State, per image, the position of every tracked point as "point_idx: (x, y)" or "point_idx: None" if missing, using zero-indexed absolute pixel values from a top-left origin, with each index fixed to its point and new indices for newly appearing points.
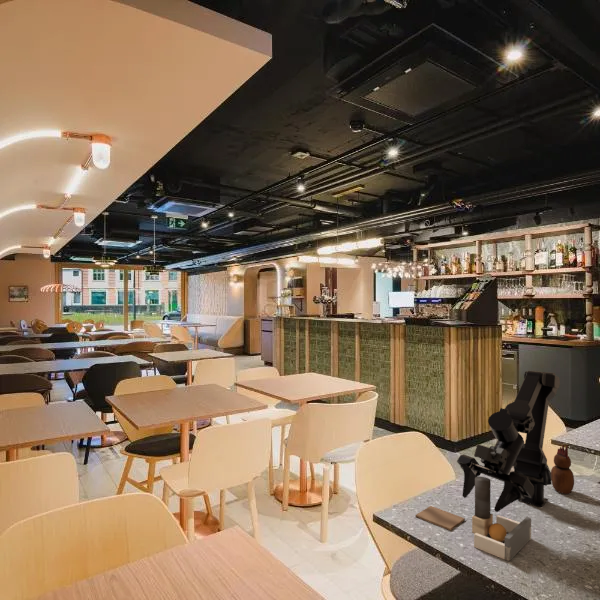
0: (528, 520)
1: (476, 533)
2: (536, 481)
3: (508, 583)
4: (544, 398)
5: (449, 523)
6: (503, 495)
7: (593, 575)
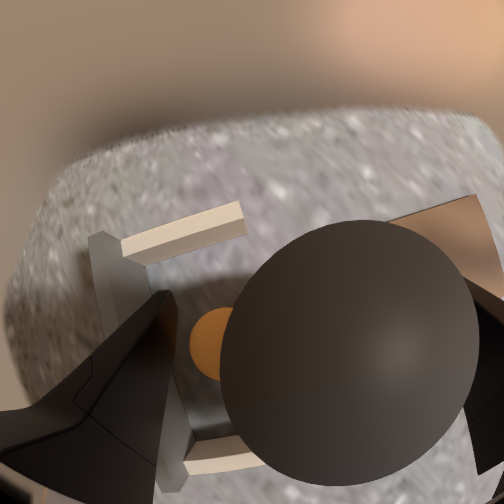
0: None
1: (237, 214)
2: None
3: (88, 170)
4: None
5: None
6: (89, 372)
7: (24, 388)
